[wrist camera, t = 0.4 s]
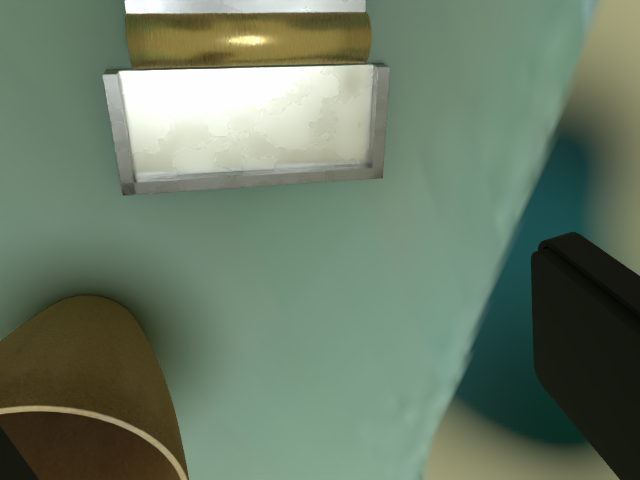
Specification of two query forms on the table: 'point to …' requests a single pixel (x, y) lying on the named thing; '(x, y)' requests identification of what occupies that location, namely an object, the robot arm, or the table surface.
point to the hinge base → (246, 95)
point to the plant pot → (88, 396)
